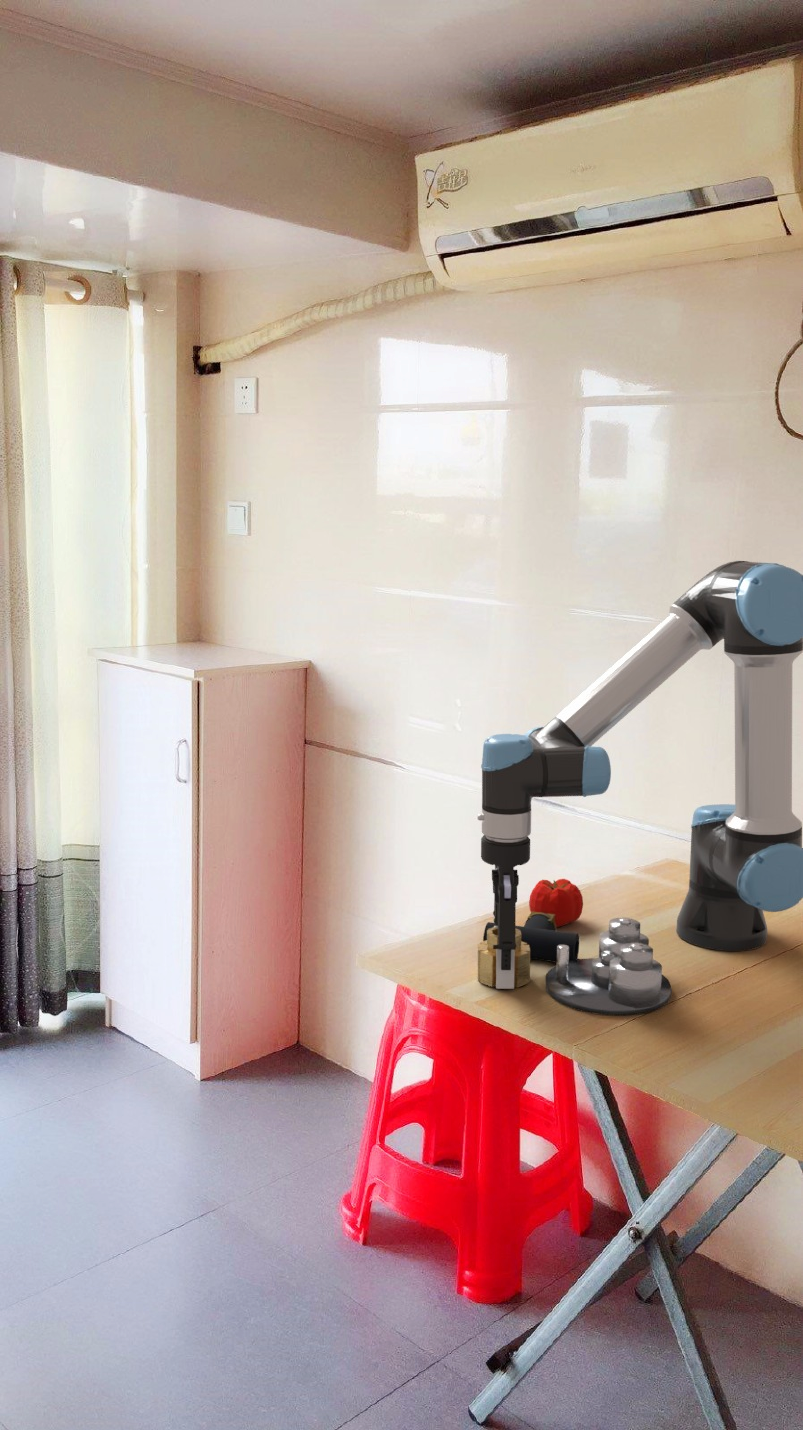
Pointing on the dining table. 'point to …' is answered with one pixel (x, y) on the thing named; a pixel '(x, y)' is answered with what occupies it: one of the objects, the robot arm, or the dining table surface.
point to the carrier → (611, 975)
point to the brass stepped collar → (489, 959)
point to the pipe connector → (544, 937)
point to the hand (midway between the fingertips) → (503, 976)
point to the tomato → (557, 900)
